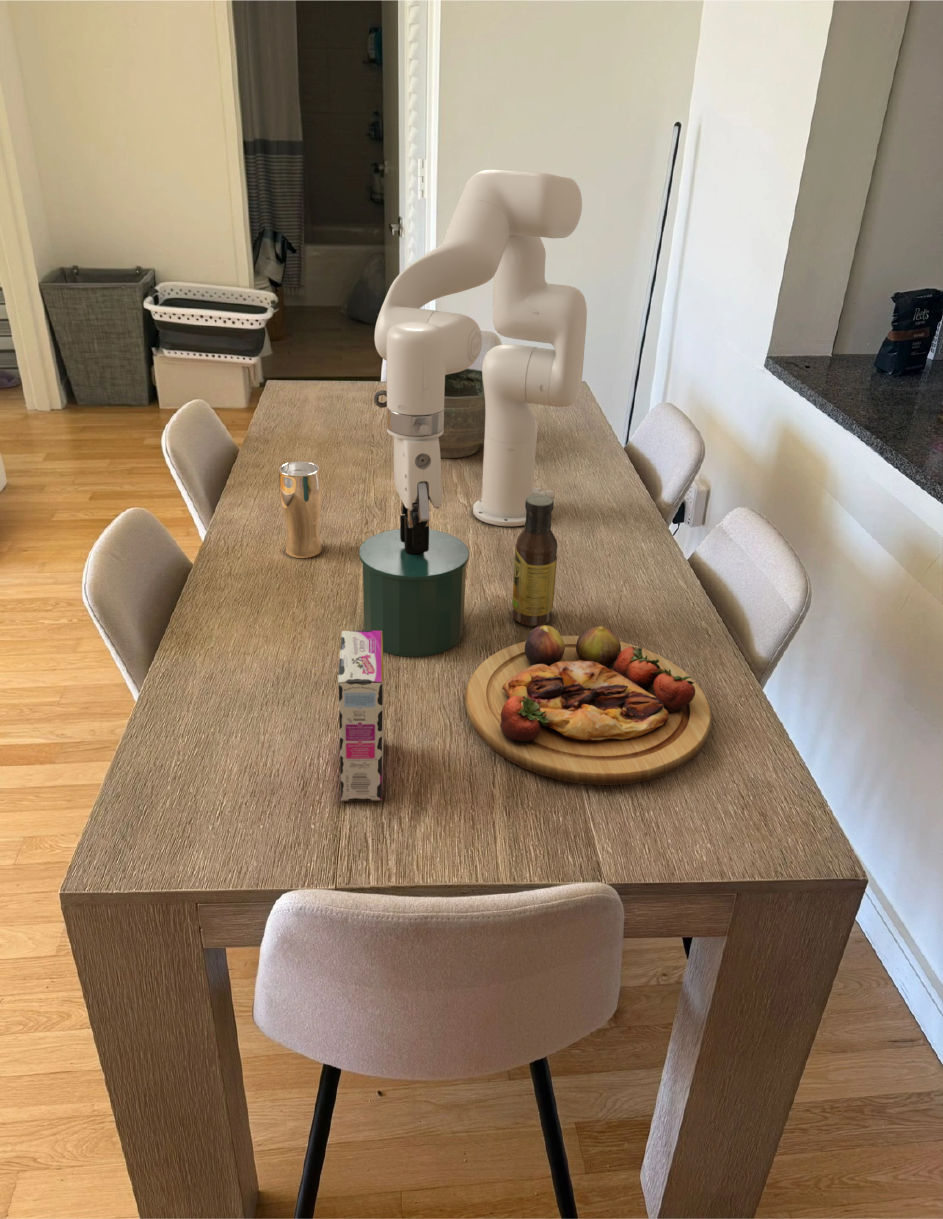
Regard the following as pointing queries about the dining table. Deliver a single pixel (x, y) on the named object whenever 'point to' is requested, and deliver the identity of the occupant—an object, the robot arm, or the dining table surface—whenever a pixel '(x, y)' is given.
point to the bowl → (459, 413)
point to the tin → (415, 612)
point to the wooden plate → (587, 708)
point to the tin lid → (413, 555)
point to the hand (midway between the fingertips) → (414, 545)
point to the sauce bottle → (535, 564)
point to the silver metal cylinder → (301, 507)
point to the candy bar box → (361, 715)
